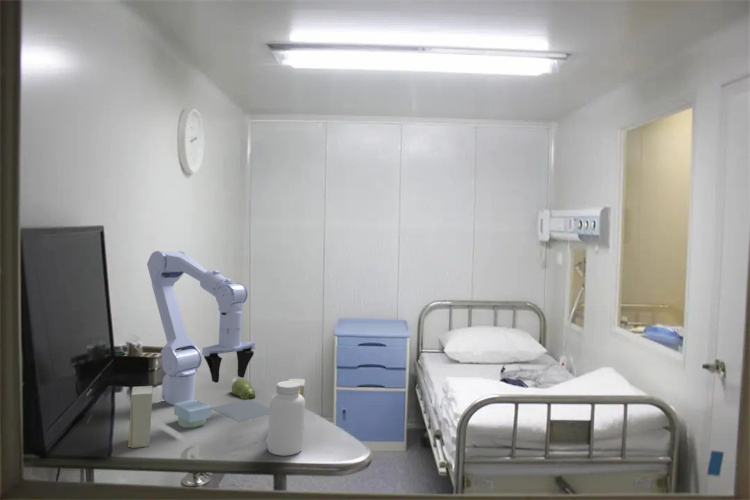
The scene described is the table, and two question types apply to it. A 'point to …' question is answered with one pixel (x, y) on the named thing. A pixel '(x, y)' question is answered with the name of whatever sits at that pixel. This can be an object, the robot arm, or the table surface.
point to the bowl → (191, 424)
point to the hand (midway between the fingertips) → (228, 379)
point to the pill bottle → (286, 419)
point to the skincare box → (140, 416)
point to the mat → (242, 410)
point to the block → (192, 410)
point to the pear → (243, 389)
